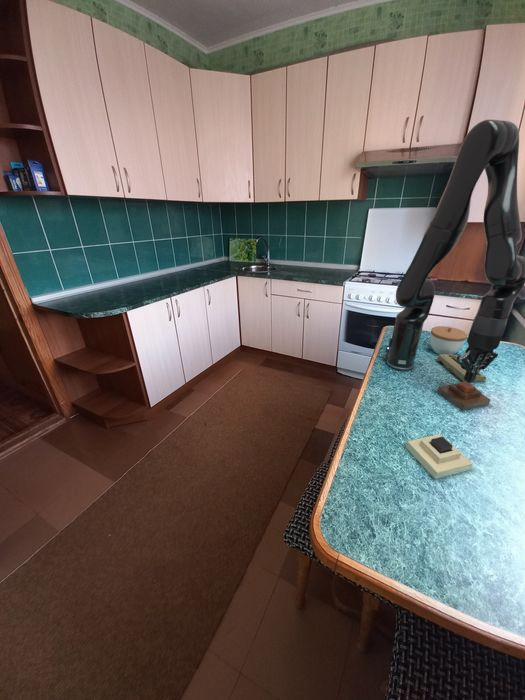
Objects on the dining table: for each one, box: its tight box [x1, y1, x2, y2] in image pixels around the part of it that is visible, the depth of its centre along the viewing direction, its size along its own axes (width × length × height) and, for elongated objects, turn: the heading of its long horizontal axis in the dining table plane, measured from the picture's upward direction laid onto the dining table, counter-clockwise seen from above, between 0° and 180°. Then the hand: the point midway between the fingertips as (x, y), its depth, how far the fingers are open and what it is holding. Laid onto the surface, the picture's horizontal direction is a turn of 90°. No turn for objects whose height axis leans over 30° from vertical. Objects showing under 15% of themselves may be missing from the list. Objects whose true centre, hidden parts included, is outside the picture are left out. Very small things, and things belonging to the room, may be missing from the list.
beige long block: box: [436, 354, 487, 383], centre depth 107 cm, size 16×8×3 cm, turn 3°
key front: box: [430, 436, 454, 454], centre depth 70 cm, size 3×3×2 cm
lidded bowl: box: [429, 325, 468, 356], centre depth 119 cm, size 13×13×11 cm
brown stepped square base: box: [436, 382, 492, 412], centre depth 92 cm, size 10×10×4 cm
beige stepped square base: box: [405, 433, 474, 480], centre depth 71 cm, size 10×10×4 cm
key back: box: [457, 381, 476, 393], centre depth 91 cm, size 3×3×2 cm
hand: (468, 381), depth 90 cm, fingers closed
